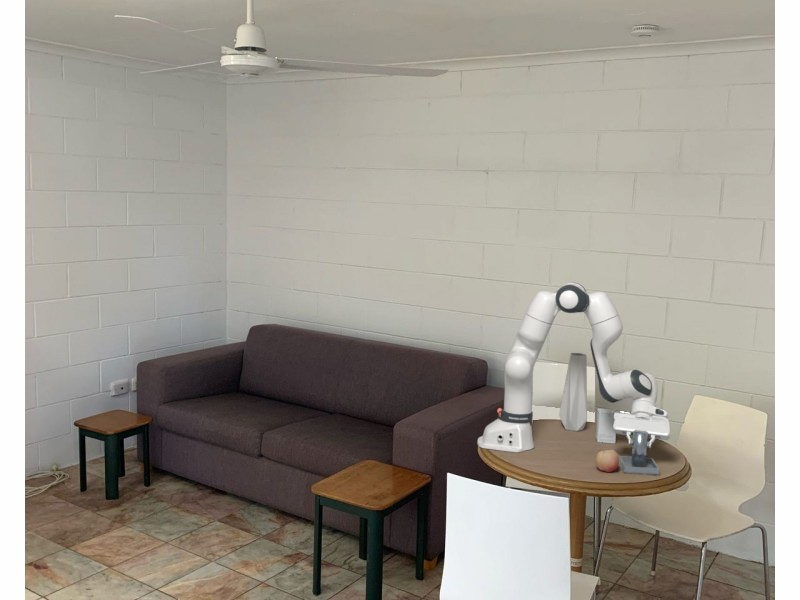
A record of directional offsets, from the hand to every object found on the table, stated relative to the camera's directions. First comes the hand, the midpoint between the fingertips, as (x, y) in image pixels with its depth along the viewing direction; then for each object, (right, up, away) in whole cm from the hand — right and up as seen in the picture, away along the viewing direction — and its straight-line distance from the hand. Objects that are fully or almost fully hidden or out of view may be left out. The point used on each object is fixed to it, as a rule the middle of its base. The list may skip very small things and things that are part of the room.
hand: (639, 446), depth 276 cm
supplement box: (-3, -5, +36) cm, 36 cm away
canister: (0, -7, +1) cm, 7 cm away
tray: (0, -9, +2) cm, 9 cm away
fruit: (-13, -9, -2) cm, 16 cm away
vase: (-12, -3, +51) cm, 53 cm away
